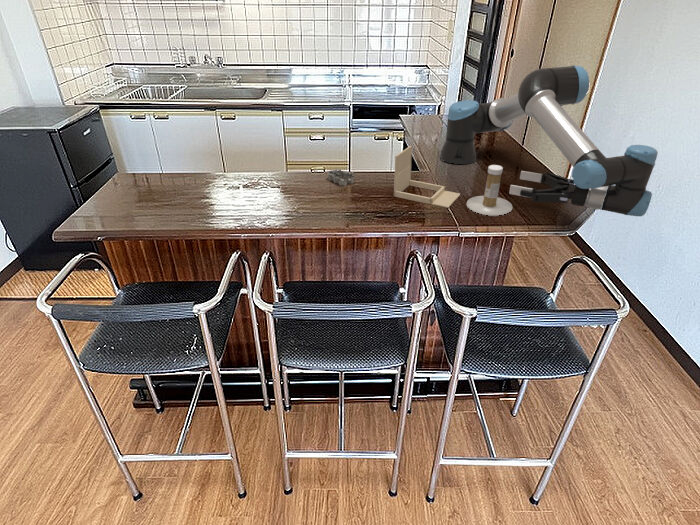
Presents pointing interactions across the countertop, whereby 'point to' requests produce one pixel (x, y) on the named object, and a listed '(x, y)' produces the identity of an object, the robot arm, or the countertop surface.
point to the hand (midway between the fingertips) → (515, 181)
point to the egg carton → (337, 177)
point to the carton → (418, 183)
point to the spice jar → (492, 185)
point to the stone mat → (499, 209)
